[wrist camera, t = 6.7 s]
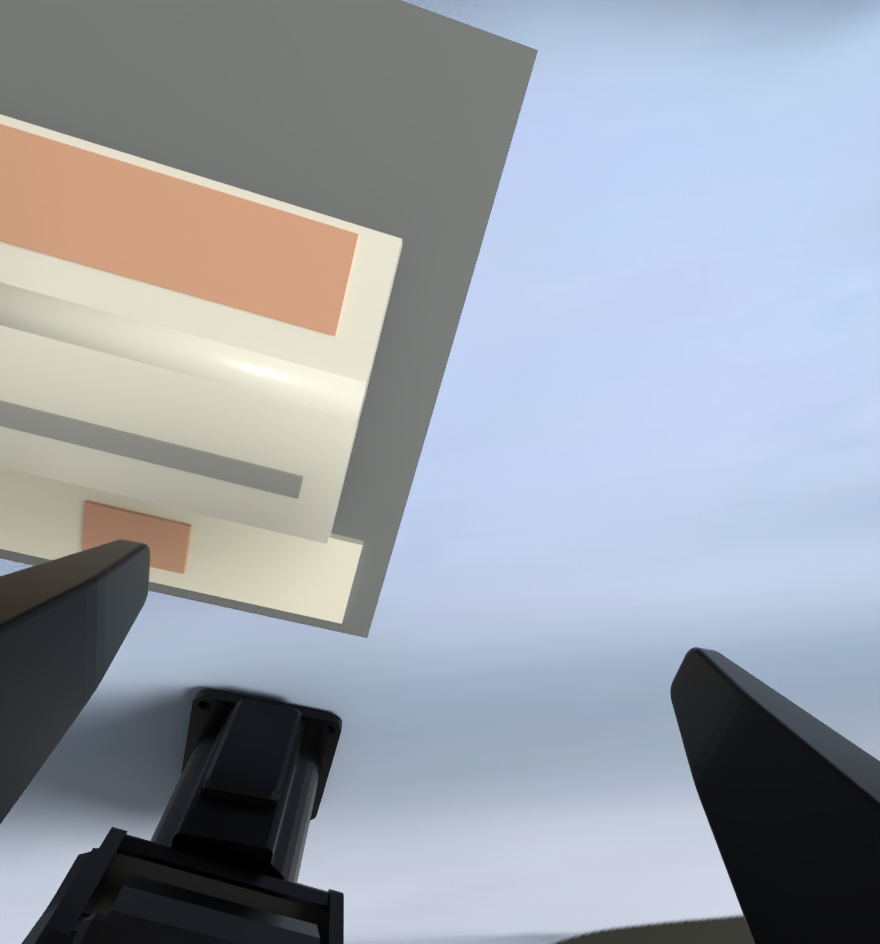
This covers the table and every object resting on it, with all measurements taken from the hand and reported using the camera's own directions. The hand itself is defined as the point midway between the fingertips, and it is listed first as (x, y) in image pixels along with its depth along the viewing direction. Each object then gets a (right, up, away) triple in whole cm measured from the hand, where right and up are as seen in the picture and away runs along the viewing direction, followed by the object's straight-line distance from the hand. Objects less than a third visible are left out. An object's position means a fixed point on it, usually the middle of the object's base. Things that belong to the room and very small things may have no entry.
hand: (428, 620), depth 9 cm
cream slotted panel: (-8, +6, +5) cm, 11 cm away
